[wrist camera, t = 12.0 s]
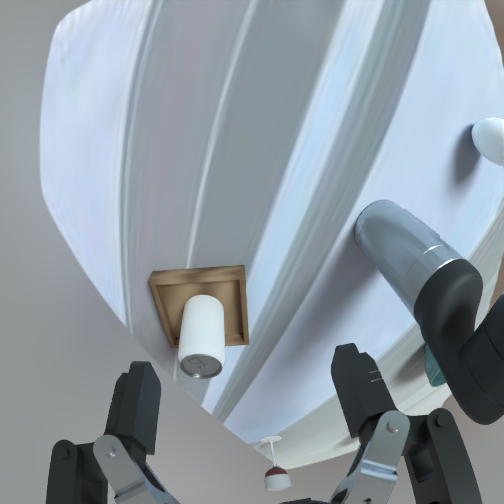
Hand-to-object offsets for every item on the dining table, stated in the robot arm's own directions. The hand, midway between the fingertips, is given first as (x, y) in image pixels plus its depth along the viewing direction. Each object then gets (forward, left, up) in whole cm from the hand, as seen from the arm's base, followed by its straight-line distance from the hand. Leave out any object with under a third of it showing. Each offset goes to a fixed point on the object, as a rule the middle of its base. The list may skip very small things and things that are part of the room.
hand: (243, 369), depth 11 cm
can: (+6, +20, -27) cm, 34 cm away
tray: (+6, +20, -28) cm, 34 cm away
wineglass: (-7, +85, -28) cm, 90 cm away
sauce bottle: (-43, -11, -28) cm, 52 cm away
